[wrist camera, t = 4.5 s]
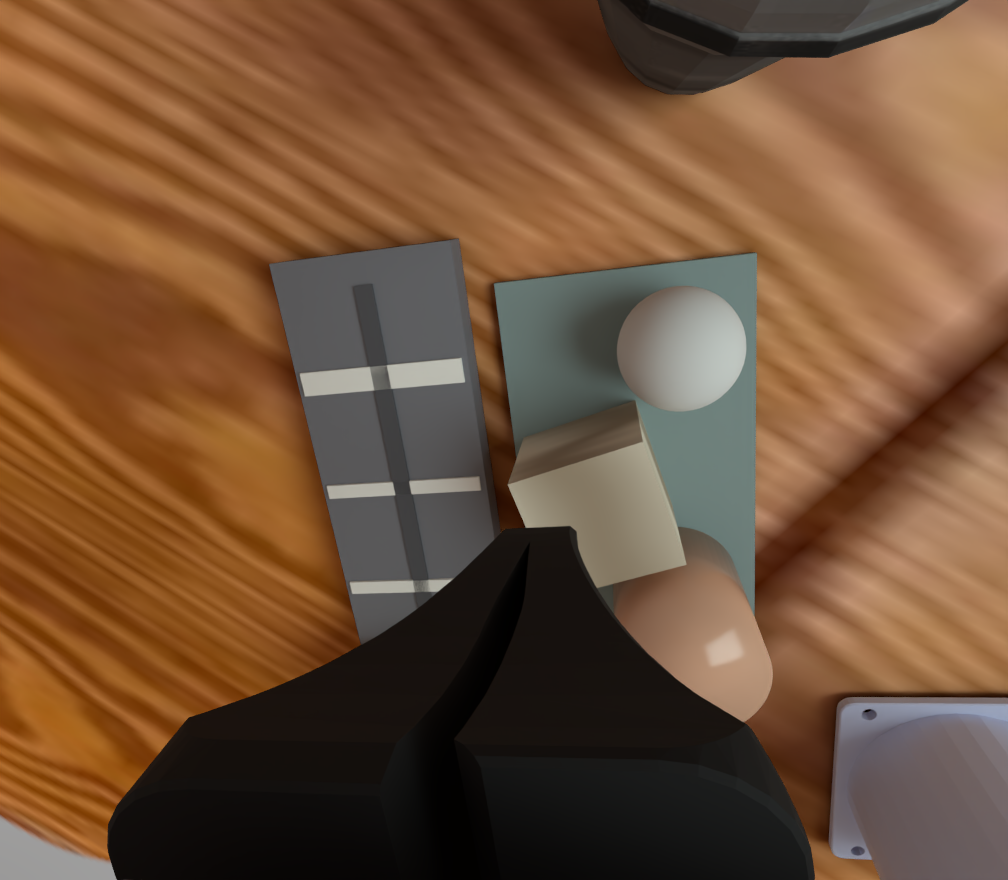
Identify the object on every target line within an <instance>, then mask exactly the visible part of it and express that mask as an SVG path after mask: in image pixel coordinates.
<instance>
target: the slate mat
mask: <svg viewBox="0 0 1008 880" xmlns="http://www.w3.org/2000/svg"><path fill="white" fill-rule="evenodd" d="M674 286H694V287H699V288H703V289H706V290H708V291H711V292H713V293H715V294H717V295H719V296H720V297H721V298H723V299H724V300H725V301H726V302H727V303H728V304H729V305H730V306H731V307H732V308H733V309H734V311H735V312H736V313H737V315H738V317H739V318H740V320H741V322H742V325H743V328H744V331H745V336H746V357H745V361H744V365H743V368H742V371H741V373H740V375H739V377H738V378H737V380H736V381H735V383H734V384H733V386H732V387H731V388H730V389H729V390H728V391H727V392H726V393H725V394H724V395H723V396H722V397H720V398H719V399H718V400H716V401H715V402H713V403H711V404H709V405H707V406H705V407H702V408H699V409H695V410H691V411H682V412H675V411H667V410H663V409H659V408H656V407H654V406H652V405H650V404H648V403H646V402H644V401H643V400H642V399H640V398H639V397H638V396H637V395H636V394H634V393H633V392H632V390H631V389H630V388H629V387H628V385H627V384H626V382H625V380H624V378H623V376H622V374H621V372H620V368H619V365H618V359H617V344H618V338H619V334H620V330H621V328H622V326H623V323H624V321H625V320H626V318H627V316H628V315H629V313H630V312H631V311H632V310H633V308H634V307H635V306H636V305H637V304H638V303H640V302H641V301H642V300H643V299H645V298H646V297H648V296H649V295H651V294H653V293H655V292H657V291H659V290H662V289H665V288H669V287H674ZM494 288H495V296H496V304H497V312H498V319H499V327H500V335H501V343H502V351H503V358H504V366H505V374H506V382H507V390H508V397H509V405H510V413H511V421H512V429H513V436H514V444H515V452H516V459H517V456H518V453H519V450H520V447H521V444H522V441H523V438H524V437H527V436H530V435H533V434H536V433H539V432H542V431H545V430H548V429H551V428H554V427H557V426H560V425H563V424H566V423H569V422H572V421H575V420H578V419H581V418H584V417H587V416H590V415H593V414H596V413H599V412H601V411H604V410H607V409H610V408H613V407H616V406H619V405H622V404H625V403H628V402H631V401H634V400H635V401H636V403H637V406H638V409H639V412H640V415H641V418H642V421H643V423H644V426H645V429H646V432H647V435H648V438H649V440H650V443H651V446H652V449H653V452H654V455H655V457H656V460H657V463H658V466H659V469H660V472H661V474H662V477H663V480H664V483H665V486H666V489H667V491H668V494H669V497H670V500H671V503H672V506H673V511H674V515H675V519H676V523H677V527H685V528H690V529H694V530H698V531H700V532H703V533H705V534H707V535H709V536H711V537H712V538H714V539H715V540H717V541H718V542H719V543H720V544H721V545H722V546H723V547H724V548H725V549H726V550H727V551H728V553H729V554H730V556H731V558H732V560H733V562H734V565H735V567H736V570H737V572H738V575H739V578H740V580H741V583H742V586H743V588H744V591H745V594H746V596H747V599H748V602H749V604H750V607H751V609H752V612H753V615H754V596H755V448H756V300H757V253H755V252H754V253H746V254H737V255H728V256H720V257H711V258H703V259H694V260H686V261H677V262H669V263H660V264H652V265H643V266H635V267H626V268H618V269H609V270H600V271H592V272H583V273H575V274H566V275H558V276H549V277H541V278H532V279H524V280H515V281H507V282H498V283H494ZM525 528H526V526H525ZM597 589H598V591H599V592H600V594H601V596H602V597H603V599H604V600H605V602H606V603H607V605H608V606H609V608H610V609H611V611H612V612H613V584H611V585H607V586H603V587H599V588H597ZM613 613H614V612H613Z"/></svg>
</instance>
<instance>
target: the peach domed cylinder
mask: <svg viewBox="0 0 1008 880" xmlns="http://www.w3.org/2000/svg"><path fill="white" fill-rule="evenodd" d="M678 531H679V535H680V539H681V543H682V548H683V552H684V556H685V560H686V564H687V565H684V566H680V567H676V568H672V569H668V570H664V571H661V572H657V573H653V574H649V575H645V576H641V577H638V578H634V579H630V580H626V581H622V582H618V583H614V584H613V612H614V615H615V616H616V617H617V619H618V620H619V621H620V623H621V624H622V625H623V626H624V627H625V629H626V630H627V631H628V632H629V633H630V635H631V636H632V637H633V638H634V639H635V640H636V641H637V642H638V643H639V644H640V646H641V647H642V648H643V649H644V650H645V651H646V652H647V653H648V654H649V655H650V656H651V657H652V658H654V659H655V660H656V661H657V662H658V663H659V664H660V665H661V666H663V667H664V668H665V669H666V670H667V671H668V672H669V673H670V674H671V675H673V676H674V677H675V678H676V679H677V680H678V681H680V682H681V683H682V684H684V685H685V686H687V687H688V688H689V689H691V690H692V691H693V692H695V693H696V694H698V695H699V696H701V697H702V698H704V699H706V700H707V701H709V702H711V703H712V704H714V705H716V706H717V707H719V708H721V709H722V710H724V711H725V712H727V713H729V714H730V715H732V716H734V717H735V718H737V719H739V720H740V721H742V722H745V721H746V720H748V719H749V718H750V717H752V716H753V715H754V714H755V713H756V712H757V711H758V710H759V709H760V708H761V707H762V705H763V704H764V702H765V701H766V699H767V697H768V695H769V692H770V689H771V686H772V679H773V671H772V664H771V660H770V657H769V654H768V652H767V649H766V646H765V644H764V641H763V639H762V636H761V633H760V631H759V628H758V625H757V623H756V620H755V617H754V615H753V612H752V609H751V607H750V604H749V602H748V599H747V596H746V594H745V591H744V588H743V586H742V583H741V580H740V578H739V575H738V572H737V570H736V567H735V565H734V562H733V560H732V558H731V556H730V554H729V553H728V551H727V550H726V549H725V548H724V547H723V546H722V545H721V544H720V543H719V542H718V541H717V540H715V539H714V538H712V537H711V536H709V535H707V534H705V533H703V532H700V531H698V530H694V529H690V528H685V527H678Z"/></svg>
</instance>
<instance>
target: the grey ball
mask: <svg viewBox="0 0 1008 880" xmlns="http://www.w3.org/2000/svg"><path fill="white" fill-rule="evenodd" d="M745 357H746V336H745V331H744V328H743V325H742V322H741V320H740V318H739V317H738V315H737V313H736V312H735V311H734V309H733V308H732V307H731V306H730V305H729V304H728V303H727V302H726V301H725V300H724V299H723V298H721V297H720V296H719V295H717V294H715V293H713V292H711V291H708V290H706V289H703V288H699V287H694V286H674V287H669V288H665V289H662V290H659V291H657V292H655V293H653V294H651V295H649V296H648V297H646V298H645V299H643V300H642V301H641V302H640V303H638V304H637V305H636V306H635V307H634V308H633V310H632V311H631V312H630V313H629V315H628V316H627V318H626V320H625V321H624V323H623V326H622V328H621V330H620V334H619V338H618V344H617V359H618V365H619V368H620V372H621V374H622V376H623V378H624V380H625V382H626V384H627V385H628V387H629V388H630V389H631V390H632V392H633V393H634V394H636V395H637V396H638V397H639V398H640V399H642V400H643V401H644V402H646V403H648V404H650V405H652V406H654V407H656V408H659V409H663V410H667V411H675V412H682V411H691V410H695V409H699V408H702V407H705V406H707V405H709V404H711V403H713V402H715V401H716V400H718V399H719V398H720V397H722V396H723V395H724V394H725V393H726V392H727V391H728V390H729V389H730V388H731V387H732V386H733V384H734V383H735V381H736V380H737V378H738V377H739V375H740V373H741V371H742V368H743V365H744V361H745Z"/></svg>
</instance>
